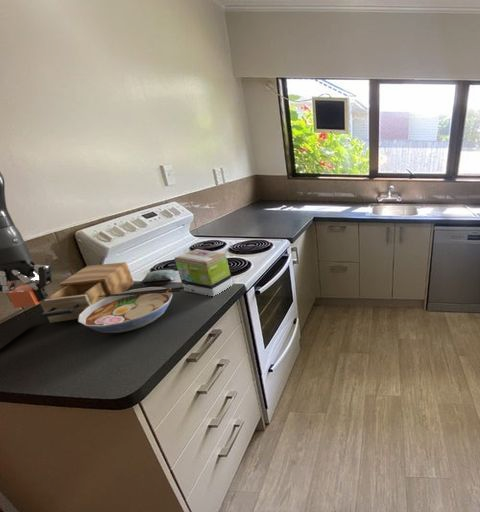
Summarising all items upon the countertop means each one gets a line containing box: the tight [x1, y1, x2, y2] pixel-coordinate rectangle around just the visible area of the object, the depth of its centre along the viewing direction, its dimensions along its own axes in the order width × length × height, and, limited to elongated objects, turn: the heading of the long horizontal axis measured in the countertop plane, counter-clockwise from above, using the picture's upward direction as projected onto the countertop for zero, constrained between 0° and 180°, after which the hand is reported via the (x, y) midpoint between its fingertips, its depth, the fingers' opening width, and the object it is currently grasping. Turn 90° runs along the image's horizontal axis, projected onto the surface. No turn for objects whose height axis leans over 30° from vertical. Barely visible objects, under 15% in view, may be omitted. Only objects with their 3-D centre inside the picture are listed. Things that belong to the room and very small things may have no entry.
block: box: [6, 284, 49, 309], centre depth 79 cm, size 4×4×4 cm
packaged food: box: [139, 269, 179, 286], centre depth 119 cm, size 9×12×5 cm
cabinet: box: [59, 261, 135, 297], centre depth 108 cm, size 16×13×10 cm
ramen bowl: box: [77, 286, 184, 334], centre depth 91 cm, size 25×23×8 cm
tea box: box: [174, 248, 234, 298], centre depth 111 cm, size 15×10×15 cm, turn 73°
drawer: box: [39, 281, 109, 323], centre depth 96 cm, size 19×11×8 cm, turn 18°
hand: (31, 301), depth 80 cm, fingers closed on block, 4 cm apart
